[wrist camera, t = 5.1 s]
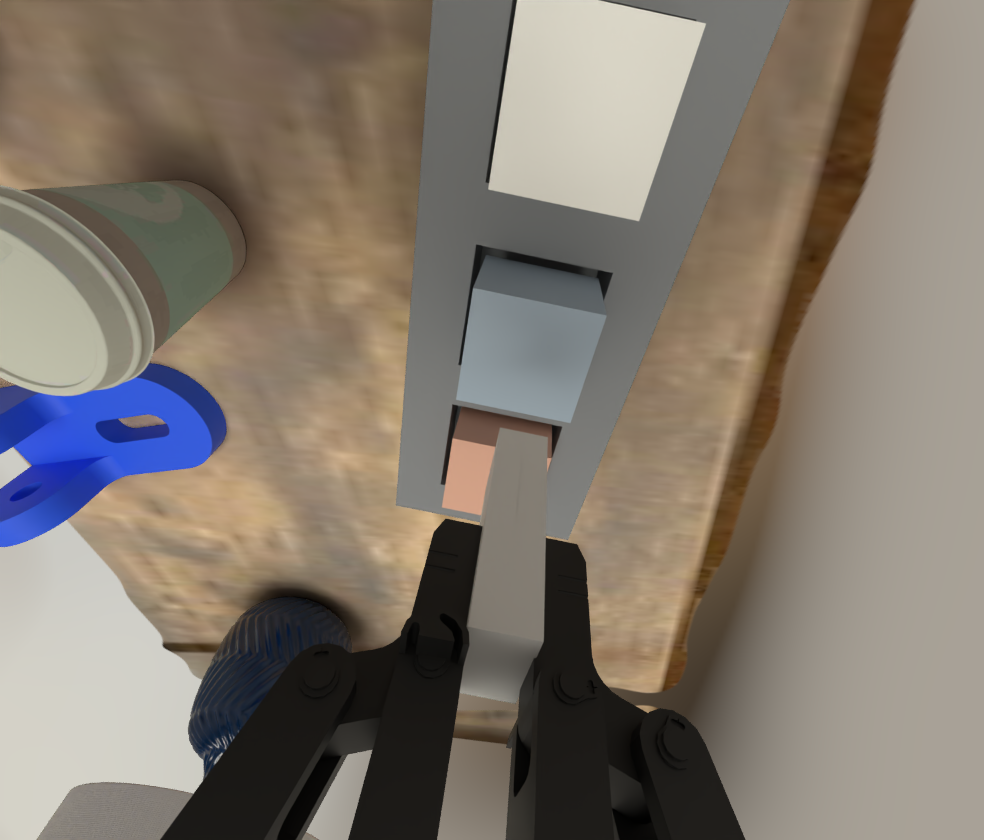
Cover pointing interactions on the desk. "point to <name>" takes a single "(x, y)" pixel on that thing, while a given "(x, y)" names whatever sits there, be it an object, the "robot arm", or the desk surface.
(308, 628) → the lamp
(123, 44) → the desk surface
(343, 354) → the desk surface
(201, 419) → the bracket
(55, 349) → the coffee cup
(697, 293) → the desk surface
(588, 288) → the slate key
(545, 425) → the terracotta key
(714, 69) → the grey socket block
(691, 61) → the white key
